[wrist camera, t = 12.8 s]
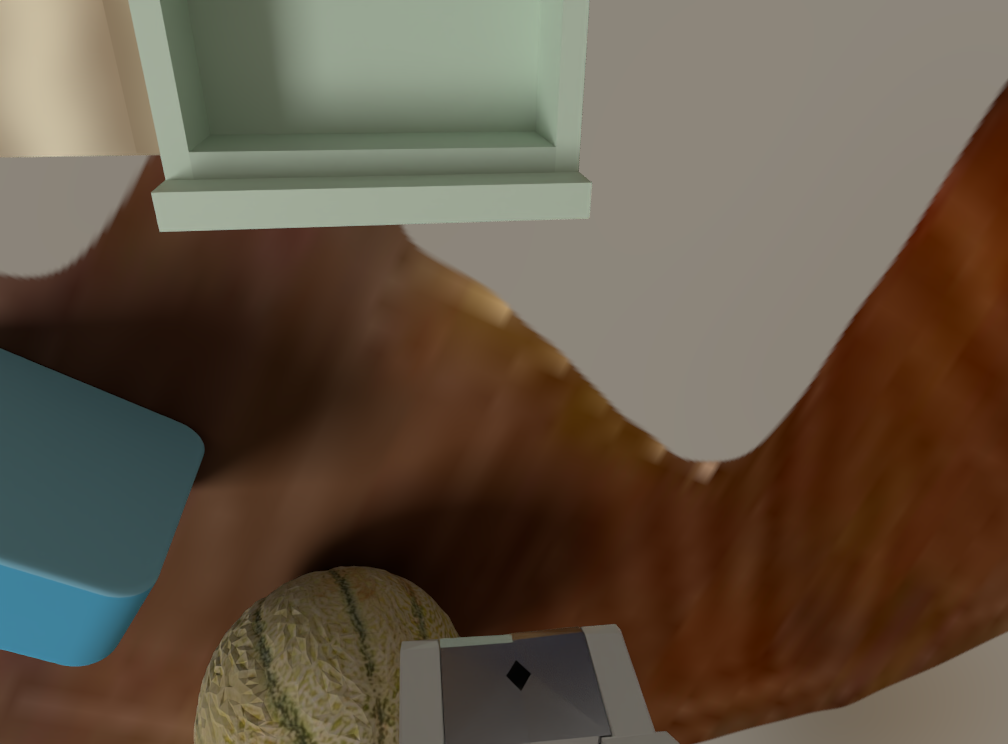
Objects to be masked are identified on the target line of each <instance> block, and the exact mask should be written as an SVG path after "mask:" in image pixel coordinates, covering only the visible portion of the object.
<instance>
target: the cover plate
mask: <svg viewBox="0 0 1008 744" xmlns="http://www.w3.org/2000/svg"><path fill="white" fill-rule="evenodd" d="M119 155H120V156H122V155H160V150H159V146H158V141H157V136H156V131H155V126H154V122H153V117H152V112H151V107H150V103H149V98H148V93H147V88H146V83H145V79H144V74H143V69H142V64H141V60H140V55H139V50H138V45H137V40H136V36H135V31H134V26H133V21H132V17H131V12H130V7H129V2H128V0H0V157H55V156H57V157H59V156H119Z"/></svg>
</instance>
